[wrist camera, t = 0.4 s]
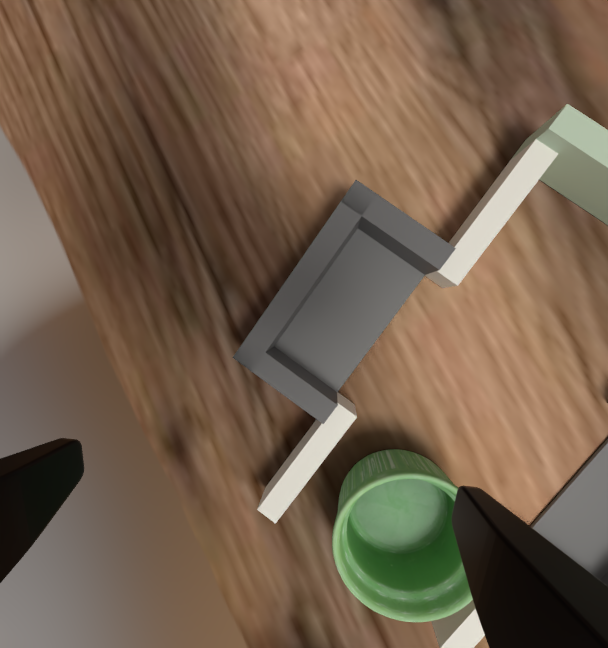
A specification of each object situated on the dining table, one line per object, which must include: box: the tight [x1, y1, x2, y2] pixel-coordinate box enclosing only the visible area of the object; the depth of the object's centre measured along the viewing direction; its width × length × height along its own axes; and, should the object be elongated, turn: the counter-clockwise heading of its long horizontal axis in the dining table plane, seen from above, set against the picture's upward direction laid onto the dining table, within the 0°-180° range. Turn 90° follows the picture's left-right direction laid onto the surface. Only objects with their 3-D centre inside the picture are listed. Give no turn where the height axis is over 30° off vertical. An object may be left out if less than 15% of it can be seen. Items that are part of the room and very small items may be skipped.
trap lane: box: [233, 104, 608, 648], centre depth 19 cm, size 30×30×4 cm
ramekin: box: [332, 449, 473, 622], centre depth 20 cm, size 9×9×4 cm
